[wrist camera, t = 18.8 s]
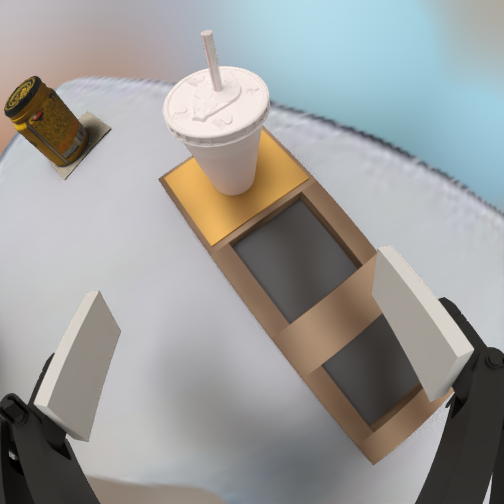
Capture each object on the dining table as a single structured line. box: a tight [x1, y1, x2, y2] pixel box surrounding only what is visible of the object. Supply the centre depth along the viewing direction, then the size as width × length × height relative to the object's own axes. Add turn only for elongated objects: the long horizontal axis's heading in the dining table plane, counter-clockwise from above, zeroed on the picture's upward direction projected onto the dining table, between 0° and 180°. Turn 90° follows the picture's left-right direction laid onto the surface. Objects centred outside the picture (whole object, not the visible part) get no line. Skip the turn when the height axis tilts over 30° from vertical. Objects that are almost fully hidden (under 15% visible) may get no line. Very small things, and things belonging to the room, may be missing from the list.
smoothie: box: [163, 30, 270, 196], centre depth 17 cm, size 6×6×14 cm
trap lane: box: [158, 125, 454, 465], centre depth 22 cm, size 11×32×2 cm, turn 36°
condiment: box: [4, 76, 110, 180], centre depth 24 cm, size 7×8×12 cm
